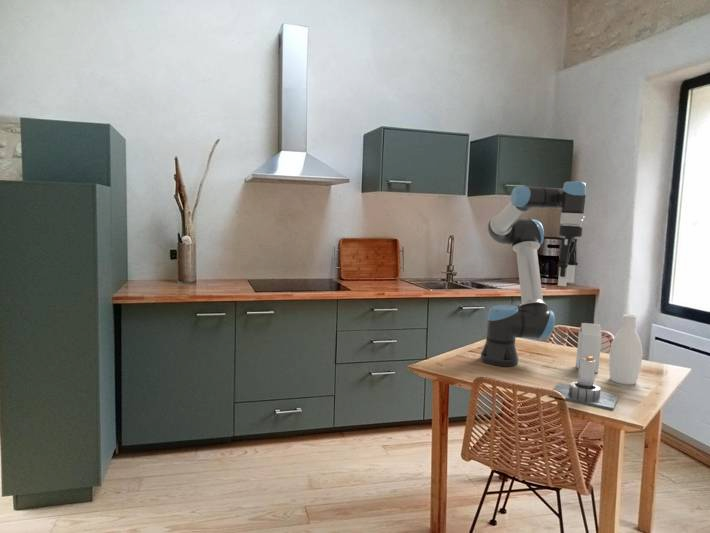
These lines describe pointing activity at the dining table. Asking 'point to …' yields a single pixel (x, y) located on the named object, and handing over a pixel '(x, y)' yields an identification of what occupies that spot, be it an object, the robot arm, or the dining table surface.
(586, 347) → the milk carton
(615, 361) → the bottle
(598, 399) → the flange plate
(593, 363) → the block
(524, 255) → the robot arm
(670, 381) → the dining table surface
